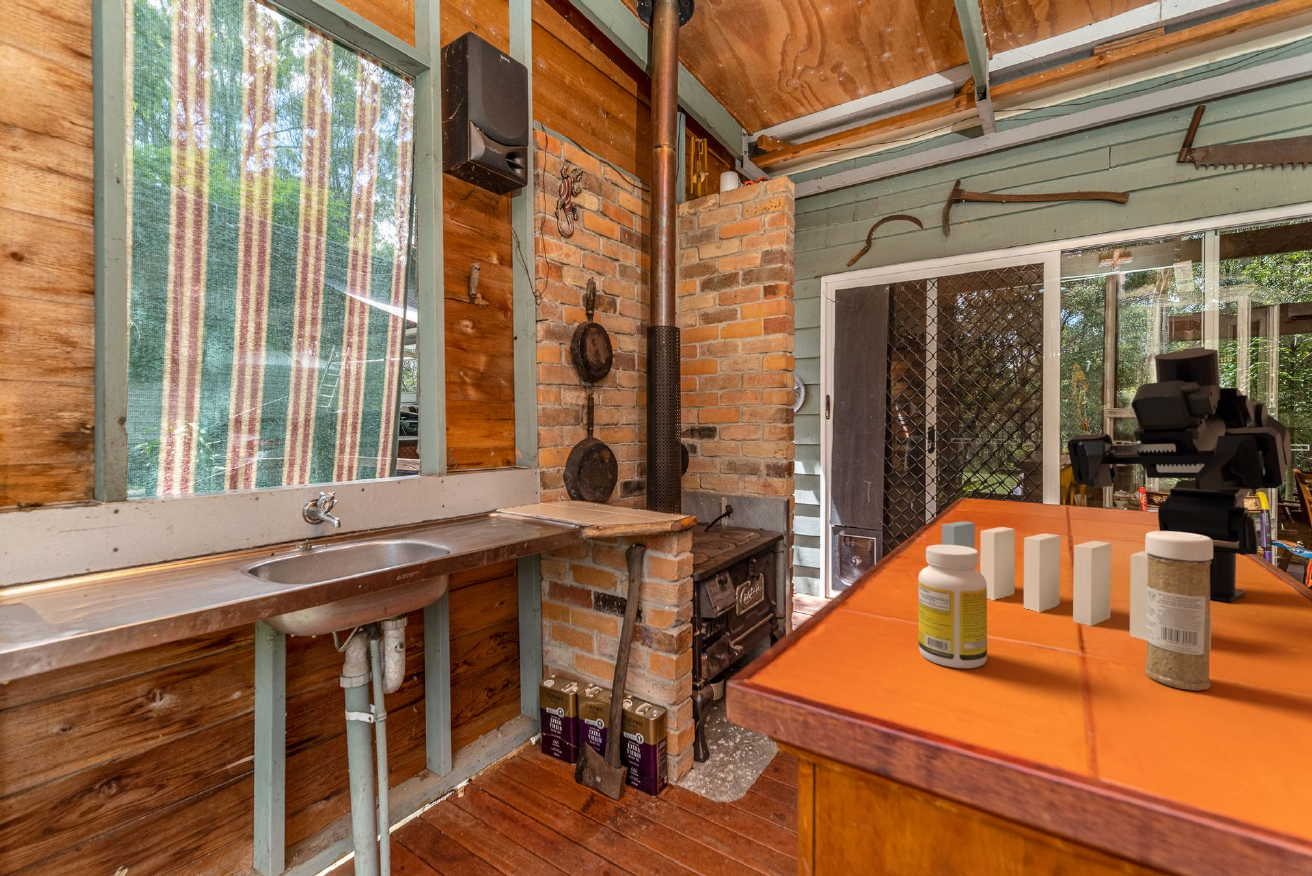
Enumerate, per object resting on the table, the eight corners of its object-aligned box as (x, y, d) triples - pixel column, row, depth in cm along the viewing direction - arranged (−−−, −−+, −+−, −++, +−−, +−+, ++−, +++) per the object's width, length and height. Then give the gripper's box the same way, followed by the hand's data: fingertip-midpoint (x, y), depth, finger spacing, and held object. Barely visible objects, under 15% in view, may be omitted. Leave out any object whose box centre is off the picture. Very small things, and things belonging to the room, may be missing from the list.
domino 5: (1129, 636, 64) (1130, 554, 64) (1148, 627, 66) (1149, 548, 66) (1150, 641, 62) (1151, 557, 62) (1168, 631, 65) (1169, 551, 65)
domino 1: (941, 587, 83) (942, 524, 82) (962, 582, 85) (962, 521, 85) (953, 590, 81) (954, 526, 81) (974, 585, 84) (974, 522, 83)
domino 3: (1023, 608, 73) (1024, 537, 73) (1044, 601, 76) (1044, 533, 76) (1039, 612, 72) (1039, 540, 71) (1059, 605, 74) (1059, 535, 74)
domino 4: (1073, 621, 69) (1073, 545, 68) (1092, 613, 71) (1093, 540, 71) (1090, 626, 67) (1091, 548, 67) (1110, 617, 70) (1111, 543, 69)
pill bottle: (980, 649, 61) (980, 544, 60) (993, 674, 55) (994, 558, 55) (915, 642, 63) (915, 540, 62) (921, 665, 57) (921, 553, 57)
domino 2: (980, 597, 78) (980, 530, 78) (1000, 591, 81) (1001, 526, 80) (993, 601, 76) (994, 533, 76) (1014, 594, 79) (1014, 528, 79)
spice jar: (1217, 683, 52) (1220, 535, 52) (1201, 697, 50) (1204, 541, 49) (1153, 666, 56) (1155, 527, 56) (1135, 678, 54) (1137, 533, 53)
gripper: (1084, 385, 79) (1033, 419, 70) (1284, 364, 63) (1250, 405, 55) (1099, 463, 80) (1051, 505, 72) (1298, 461, 64) (1267, 516, 56)
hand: (1141, 484), depth 64 cm, fingers open, 9 cm apart
